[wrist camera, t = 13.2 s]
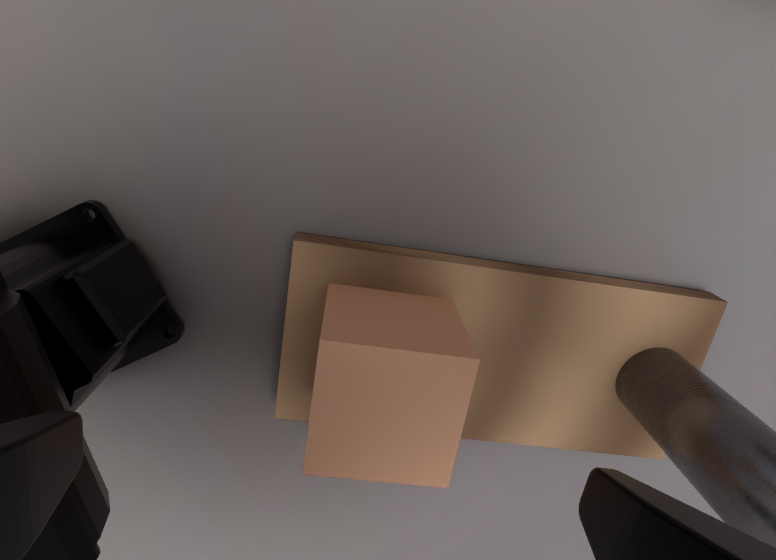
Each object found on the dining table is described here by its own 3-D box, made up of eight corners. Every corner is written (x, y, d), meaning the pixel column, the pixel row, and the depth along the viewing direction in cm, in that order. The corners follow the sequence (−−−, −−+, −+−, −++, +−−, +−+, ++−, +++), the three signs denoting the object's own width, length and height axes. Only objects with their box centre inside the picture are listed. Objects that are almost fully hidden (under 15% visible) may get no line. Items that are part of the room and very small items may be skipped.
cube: (313, 392, 22) (301, 474, 17) (328, 282, 20) (319, 339, 15) (429, 405, 22) (448, 488, 18) (452, 299, 21) (480, 359, 16)
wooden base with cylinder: (278, 402, 23) (193, 732, 11) (296, 232, 21) (211, 423, 9) (649, 443, 25) (917, 762, 13) (709, 291, 23) (1110, 516, 11)
